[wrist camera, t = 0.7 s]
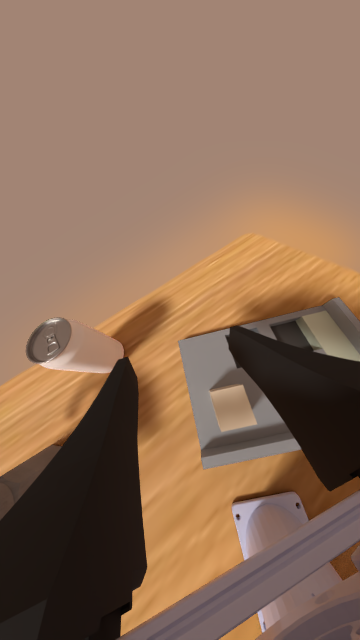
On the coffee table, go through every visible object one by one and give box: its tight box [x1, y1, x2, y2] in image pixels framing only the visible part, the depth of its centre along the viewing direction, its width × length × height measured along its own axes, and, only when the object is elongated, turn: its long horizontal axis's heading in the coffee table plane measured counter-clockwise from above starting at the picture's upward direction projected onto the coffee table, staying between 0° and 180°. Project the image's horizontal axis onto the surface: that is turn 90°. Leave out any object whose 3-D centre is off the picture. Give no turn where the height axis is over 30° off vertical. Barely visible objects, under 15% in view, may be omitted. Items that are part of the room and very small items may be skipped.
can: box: [26, 317, 124, 373], centre depth 22 cm, size 6×6×12 cm
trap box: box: [178, 297, 360, 469], centre depth 20 cm, size 16×26×4 cm, turn 102°
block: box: [209, 384, 257, 432], centre depth 18 cm, size 4×4×4 cm
